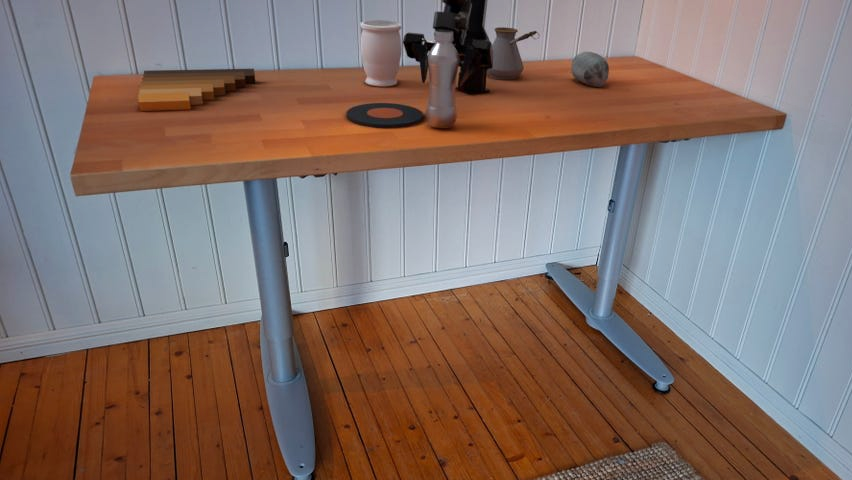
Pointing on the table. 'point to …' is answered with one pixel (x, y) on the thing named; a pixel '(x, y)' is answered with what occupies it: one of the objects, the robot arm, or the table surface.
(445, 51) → the plastic bottle
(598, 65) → the grey river stone
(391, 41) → the jar
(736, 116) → the table surface
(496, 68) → the coffee pot
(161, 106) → the pan flute
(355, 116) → the ring
